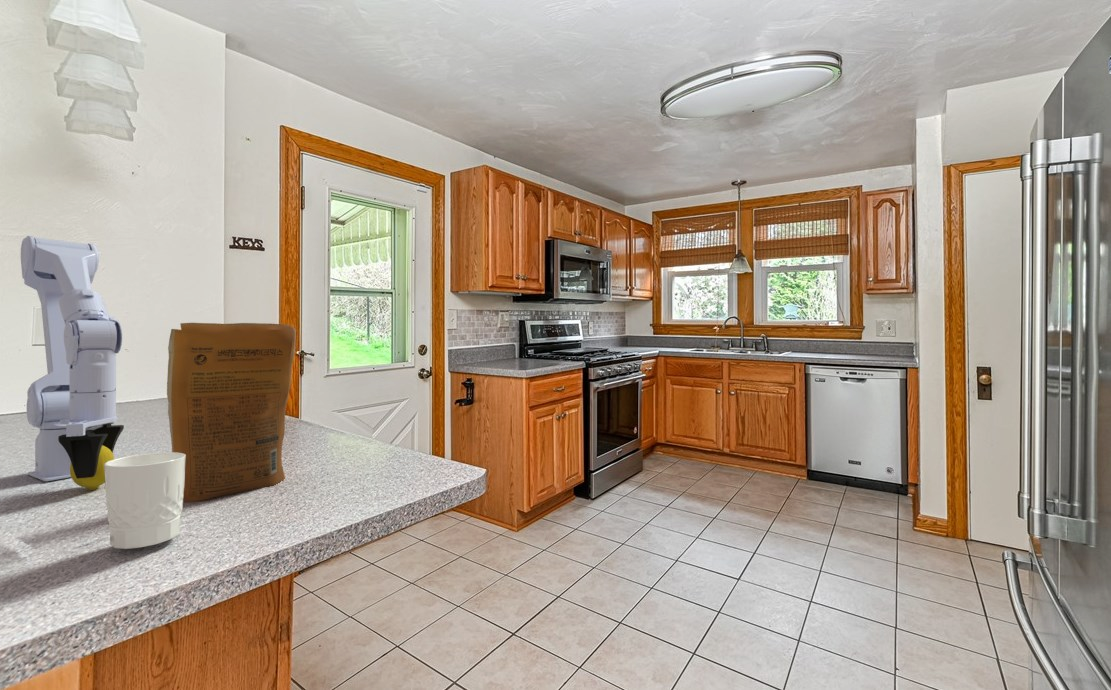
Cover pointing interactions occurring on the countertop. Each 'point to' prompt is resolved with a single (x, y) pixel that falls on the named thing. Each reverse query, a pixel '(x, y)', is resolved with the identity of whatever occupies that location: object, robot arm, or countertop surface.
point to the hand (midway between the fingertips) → (93, 473)
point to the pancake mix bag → (229, 404)
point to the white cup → (144, 498)
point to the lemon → (99, 476)
